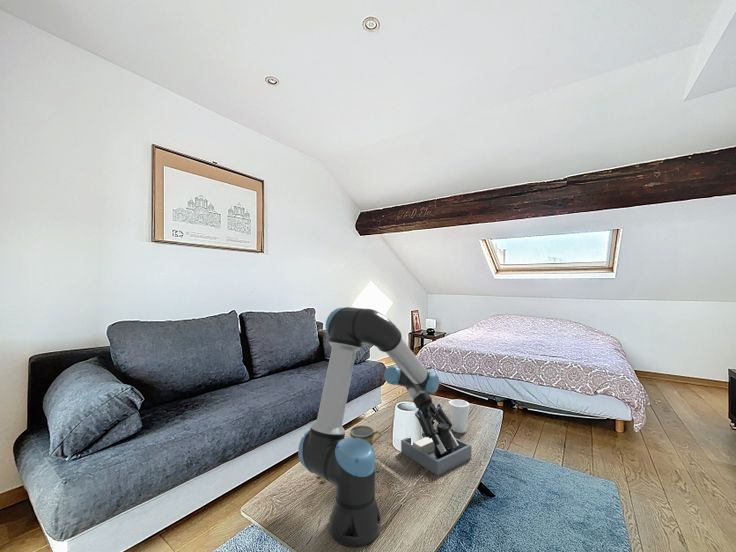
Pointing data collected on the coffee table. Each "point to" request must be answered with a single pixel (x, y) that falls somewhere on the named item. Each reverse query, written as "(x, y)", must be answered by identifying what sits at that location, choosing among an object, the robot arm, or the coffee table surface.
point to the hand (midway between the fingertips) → (450, 449)
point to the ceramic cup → (364, 433)
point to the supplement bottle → (443, 440)
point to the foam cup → (459, 415)
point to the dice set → (323, 479)
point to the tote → (431, 461)
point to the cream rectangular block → (425, 445)
